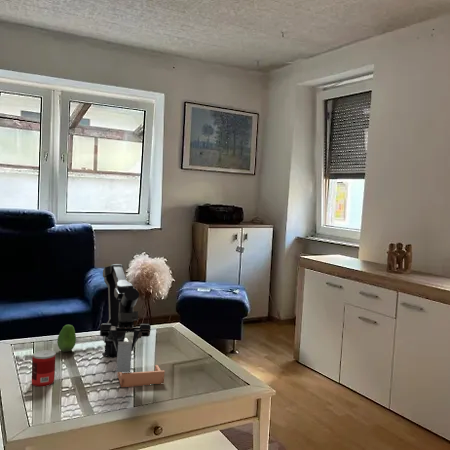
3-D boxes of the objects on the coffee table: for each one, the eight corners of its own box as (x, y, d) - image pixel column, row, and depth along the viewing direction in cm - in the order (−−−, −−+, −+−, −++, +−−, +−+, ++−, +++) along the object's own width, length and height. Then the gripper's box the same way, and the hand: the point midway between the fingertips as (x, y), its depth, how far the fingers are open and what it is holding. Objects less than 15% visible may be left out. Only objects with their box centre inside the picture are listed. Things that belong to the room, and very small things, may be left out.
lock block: (116, 368, 177) (118, 341, 177) (130, 367, 178) (131, 341, 178) (116, 372, 172) (118, 345, 172) (130, 372, 173) (131, 345, 173)
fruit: (78, 351, 206) (80, 325, 206) (62, 355, 201) (63, 328, 200) (69, 347, 212) (71, 321, 211) (53, 350, 206) (54, 323, 205)
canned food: (58, 380, 175) (60, 352, 174) (43, 388, 167) (45, 358, 166) (41, 377, 177) (43, 348, 176) (26, 384, 170) (27, 354, 169)
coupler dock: (117, 374, 184) (118, 362, 184) (157, 372, 189) (158, 360, 189) (121, 387, 173) (121, 374, 172) (163, 384, 178) (164, 371, 178)
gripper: (101, 302, 176) (98, 341, 166) (151, 303, 180) (151, 341, 170) (101, 317, 184) (98, 354, 174) (149, 317, 188) (149, 354, 178)
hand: (124, 350), depth 174 cm, fingers closed on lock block, 5 cm apart
